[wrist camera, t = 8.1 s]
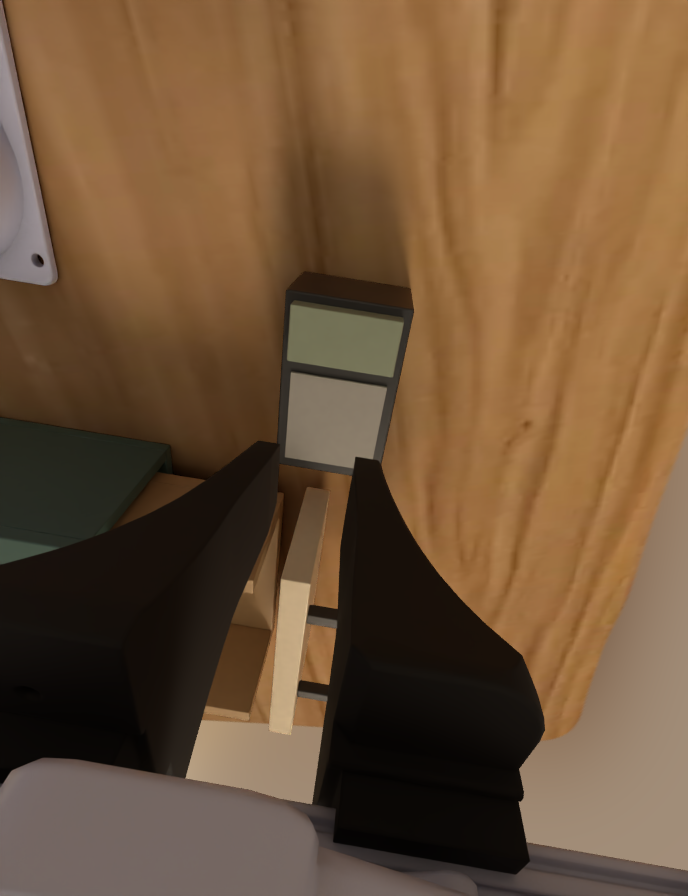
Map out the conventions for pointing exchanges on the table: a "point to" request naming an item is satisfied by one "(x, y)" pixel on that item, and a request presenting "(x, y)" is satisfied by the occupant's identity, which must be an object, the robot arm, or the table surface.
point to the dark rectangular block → (340, 369)
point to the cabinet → (67, 484)
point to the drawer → (263, 609)
